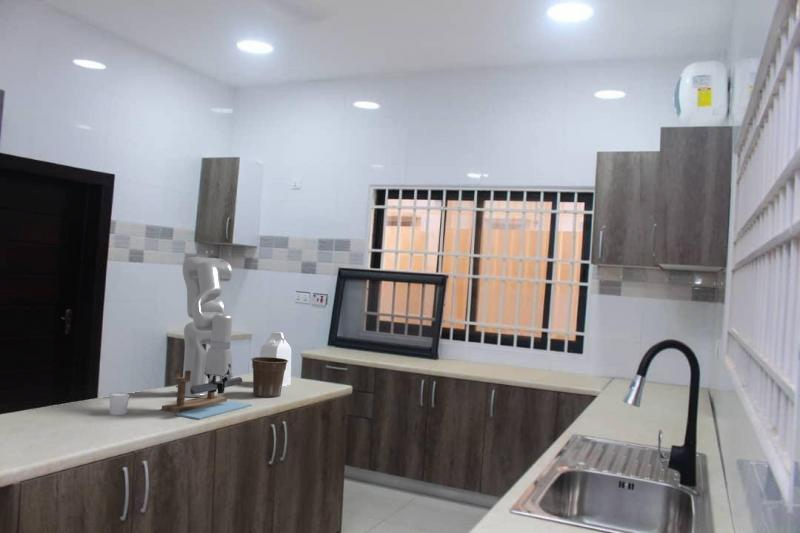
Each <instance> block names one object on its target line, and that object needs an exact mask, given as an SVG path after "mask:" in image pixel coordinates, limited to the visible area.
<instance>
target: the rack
mask: <svg viewBox="0 0 800 533" xmlns="http://www.w3.org/2000/svg"><path fill="white" fill-rule="evenodd" d="M181 371H182V370H181V368H176V369H174V376H173V377H174V381H175V382H177V385H178V388H177V394H176V402H172V403H169V404H163V405H161V410H162V411H167V412H172V413H177V412H178V413H181V412H185V411H189V410H194V409H198V408H202V407H206V406H210V405H214V404H218V403H222V402H226V401H228V397H223V396H217V395H215V394H216V392H212V393H211V392H210V391H208V394H207V396H203V397H194V398H190V399H186V400H185V398H186V397H185V386H186V382H190V374H191V371H190V370H188V371H185V378H183V377H181ZM207 381H208V382H207V383H211V382H209V379H208V380H207Z"/></svg>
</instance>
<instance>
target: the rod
mask: <svg viewBox="0 0 800 533" xmlns="http://www.w3.org/2000/svg"><path fill="white" fill-rule="evenodd" d="M216 381H217V382H211V383H208V382H205V384H201V385H196V386H192V387H191V388H190V392H191V394H197V393H202V392H206V391H211V390H216V389H217V390H218V384H219V383H220V380H216ZM241 384H243V378H242V377H240V376H239V377H232V378H230V379H228V380H227V381H226V383H225V388H229V387H234V386H238V385H241Z"/></svg>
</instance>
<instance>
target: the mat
mask: <svg viewBox="0 0 800 533" xmlns="http://www.w3.org/2000/svg"><path fill="white" fill-rule="evenodd" d="M252 406H253V404H252V403H246V402H241V401H235V400H227V401H226V402H222V403H218V404H214V405H210V406H206V407H202V408H198V409H194V410H189V411H185V412H181V413H177V412H176V413H175V416H176V415H177V416H178V417H183V418H187V417H188V418H187V419H192V418H193V419H194V420H204V419H207V418H212V417H215V416H218V415H219V416H220V415H223V414H226V413H231V412H233V411H237V410H240V409H245V408H248V407H252Z"/></svg>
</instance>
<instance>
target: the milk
mask: <svg viewBox="0 0 800 533" xmlns="http://www.w3.org/2000/svg"><path fill="white" fill-rule="evenodd" d="M259 357H274V358H282V359H286V360H288V362H287V364H286V369H285V372H284V377H283V383H282V386H285V387H288V386H287V385H292V348H291V346H290V344H289V343H288V341H287V340H286V339H285V336H284V333H283V332H279V331H271V333H270V336H269V337H268V339H266V341H265V342H264V343H263V344H262V345H261V347H260V352H259Z"/></svg>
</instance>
